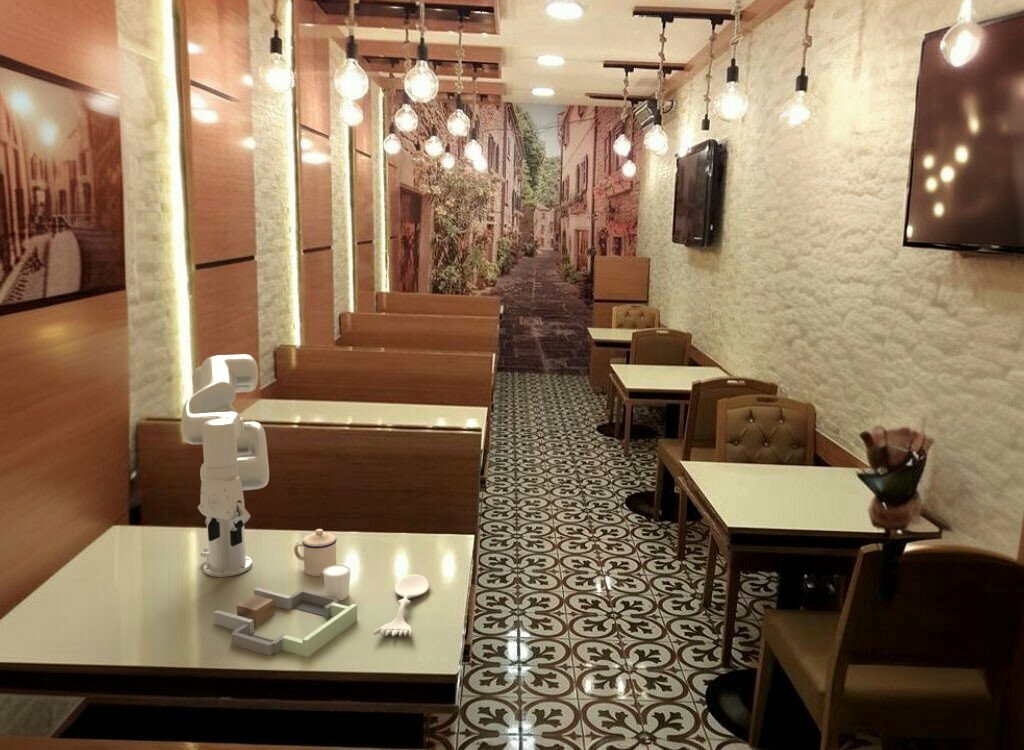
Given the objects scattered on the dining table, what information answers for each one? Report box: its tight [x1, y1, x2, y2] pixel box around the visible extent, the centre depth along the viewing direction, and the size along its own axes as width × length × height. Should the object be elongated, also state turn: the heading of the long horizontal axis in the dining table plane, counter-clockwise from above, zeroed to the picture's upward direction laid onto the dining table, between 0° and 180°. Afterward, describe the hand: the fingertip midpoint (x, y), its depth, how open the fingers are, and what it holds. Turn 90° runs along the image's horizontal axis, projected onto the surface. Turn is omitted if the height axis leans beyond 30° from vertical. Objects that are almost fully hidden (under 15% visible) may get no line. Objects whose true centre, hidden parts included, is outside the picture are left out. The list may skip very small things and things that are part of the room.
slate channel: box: [213, 587, 358, 658], centre depth 186 cm, size 29×18×4 cm, turn 65°
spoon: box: [373, 573, 431, 637], centre depth 193 cm, size 9×32×4 cm, turn 178°
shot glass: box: [322, 564, 351, 601], centre depth 200 cm, size 7×7×7 cm
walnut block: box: [235, 594, 275, 626], centre depth 189 cm, size 6×6×4 cm
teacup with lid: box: [293, 528, 337, 577], centre depth 215 cm, size 12×9×12 cm
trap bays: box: [230, 589, 341, 657], centre depth 185 cm, size 12×25×2 cm, turn 155°
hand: (225, 541), depth 190 cm, fingers open, 6 cm apart
